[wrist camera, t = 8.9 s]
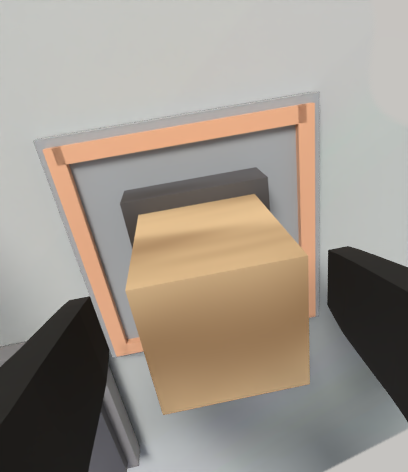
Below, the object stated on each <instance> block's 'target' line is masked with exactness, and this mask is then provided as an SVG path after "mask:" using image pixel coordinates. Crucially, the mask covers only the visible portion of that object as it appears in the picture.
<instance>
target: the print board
mask: <svg viewBox="0 0 408 472" xmlns="http://www.w3.org/2000/svg"><path fill="white" fill-rule="evenodd" d="M33 142H34V145H35V148H36V151H37V153H38V156H39V159H40V161H41V164H42V167H43V170H44V172H45V175H46V178H47V180H48V183H49V186H50V189H51V191H52V194H53V197H54V200H55V202H56V205H57V208H58V210H59V213H60V216H61V219H62V221H63V224H64V227H65V229H66V232H67V235H68V238H69V240H70V243H71V246H72V249H73V251H74V254H75V257H76V259H77V262H78V265H79V268H80V270H81V273H82V276H83V278H84V281H85V284H86V287H87V289H88V292H89V295H90V298H91V300H92V303H93V306H94V308H95V311H96V314H97V317H98V319H99V322H100V325H101V327H102V330H103V333H104V336H105V338H106V341H107V344H108V347H109V349H110V352H111V355H112V357H113V358H115V357H120V356H125V355H130V354H135V353H139V352H144V351H143V348H142V344H141V341H140V338H139V334H138V331H137V328H136V325H135V321H134V318H133V315H132V312H131V308H130V305H129V302H128V298H127V295H126V292H125V289H126V283H127V277H128V272H129V266H130V260H131V255H132V246H131V243H130V239H129V235H128V232H127V228H126V224H125V221H124V217H123V214H122V210H121V206H120V202H121V199H122V196H123V193H124V191H125V190H131V189H136V188H142V187H148V186H153V185H159V184H164V183H170V182H176V181H181V180H187V179H192V178H198V177H204V176H209V175H215V174H220V173H226V172H232V171H237V170H243V169H248V168H254V167H257V168H258V169H259V170H260V171H261V172H262V173H264V174H265V175H266V176H267V177H268V187H269V202H270V212H271V213H272V215H273V216H274V217H275V218H276V219H277V220H278V221H279V223H280V224H281V225H282V226H283V227H284V228H285V230H286V231H287V232H288V233H289V234H290V235H291V236H292V238H293V239H294V240H295V241H296V242H297V243H298V244H299V246H300V247H301V248H302V249H303V250H304V251H305V253H306V254H307V255H308V286H309V318H312V317H317V316H319V92H309V93H303V94H297V95H291V96H285V97H280V98H274V99H268V100H262V101H256V102H250V103H245V104H239V105H233V106H227V107H221V108H215V109H210V110H204V111H198V112H192V113H186V114H180V115H175V116H169V117H163V118H157V119H151V120H146V121H140V122H134V123H128V124H122V125H116V126H111V127H105V128H99V129H93V130H87V131H81V132H76V133H70V134H64V135H58V136H52V137H46V138H41V139H37V140H34V141H33Z"/></svg>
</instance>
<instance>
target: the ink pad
mask: <svg viewBox="0 0 408 472" xmlns="http://www.w3.org/2000/svg"><path fill="white" fill-rule="evenodd" d="M25 343H26V342H23V343H18V344H13V345H8V346H3V347H0V367H1V366H2V365H3V364H4V363H5V362H6V361H7V360H8V359H9V358H10V357H11V356H13V355H14V354H15V353H16V352H17V351H18V350H19V349H20V348H21V347H22V346H23V345H24V344H25ZM139 457H140V446H139V444H138V441H137V438H136V436H135V433H134V431H133V428H132V425H131V423H130V420H129V417H128V415H127V412H126V410H125V407H124V404H123V402H122V399H121V396H120V394H119V391H118V388H117V386H116V383H115V381H114V378H113V375H112V373H111V370H110V367H109V365H108V374H107V383H106V388H105V393H104V398H103V403H102V408H101V413H100V417H99V422H98V427H97V432H96V436H95V441H94V446H93V451H92V455H91V460H90V465H89V471H88V472H127V468H132V467H136V466H139Z"/></svg>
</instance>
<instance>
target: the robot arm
mask: <svg viewBox="0 0 408 472" xmlns="http://www.w3.org/2000/svg"><path fill="white" fill-rule="evenodd" d="M327 305H328V307H329V309H330V310H331V312H332V314H333V316H334V318H335V320H336V322H337V323H338V325H339V327H340V328H341V330H342V332H343V333H344V335H345V336H346V338H347V339H348V340H349V342H350V343H351V344H352V346H353V347H354V349H355V350H356V351H357V353H358V354H359V355H360V357H361V358H362V359H363V361H364V362H365V363H366V365H367V366H368V367H369V369H370V370H371V371H372V373H373V374H374V375H375V376H376V378H377V379H378V380H379V382H380V383H381V384H382V386H383V387H384V388H385V390H386V391H387V392H388V394H389V395H390V396H391V398H392V399H393V401H394V402H395V403H396V405H397V406H398V408H399V409H400V411H401V412H402V414H403V415H404V417H405V418H406V420H407V422H408V267H405V266H403V265H400V264H397V263H395V262H392V261H389V260H387V259H384V258H381V257H379V256H376V255H373V254H370V253H368V252H365V251H362V250H359V249H356V248H352V247H349V246H347V247H342V248H337V249H332V250H328V303H327ZM108 361H109V347H108V344H107V341H106V339H105V336H104V333H103V331H102V328H101V325H100V322H99V320H98V317H97V314H96V312H95V309H94V306H93V303H92V301H91V298H90V296H89V297H84V298H79V299H74V300H69V301H68V302H67V303H66V304H64V305H63V306H62V307H61V308H60V309H59V310H58V311H57V312H56V313H55V314H54V315H53V316H52V317H51V318H50V319H49V320H48V321H47V322H46V323H45V324H44V325H43V326H42V327H41V328H40V329H39V330H38V331H37V332H36V333H35V334H34V335H33V336H32V337H31V338H30V339H29V340H28V341H27V342H26V343H25V344H24V345H23V346H22V347H21V348H20V349H19V350H18V351H17V352H16V353H15V354H14V355H13V356H11V357H10V358H9V359H8V360H7V361H6V362H5V363H4V364H3V365H2V366H1V367H0V472H88V471H89V465H90V460H91V455H92V451H93V446H94V441H95V436H96V432H97V427H98V422H99V417H100V413H101V408H102V403H103V398H104V393H105V388H106V383H107V374H108Z"/></svg>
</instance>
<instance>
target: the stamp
mask: <svg viewBox="0 0 408 472" xmlns="http://www.w3.org/2000/svg"><path fill="white" fill-rule="evenodd" d="M120 206H121V210H122V214H123V217H124V221H125V224H126V228H127V232H128V235H129V239H130V243H131V246H132V255H131V260H130V266H129V272H128V277H127V283H126V289H125V292H126V295H127V298H128V302H129V305H130V308H131V312H132V315H133V318H134V321H135V325H136V328H137V331H138V334H139V338H140V341H141V344H142V348H143V351H144V354H145V357H146V361H147V364H148V367H149V370H150V374H151V377H152V380H153V384H154V387H155V390H156V393H157V397H158V400H159V403H160V406H161V410H162V413H163V415H165V414H170V413H175V412H180V411H184V410H189V409H194V408H199V407H203V406H208V405H213V404H218V403H222V402H227V401H232V400H237V399H241V398H246V397H251V396H256V395H260V394H265V393H270V392H275V391H279V390H284V389H289V388H294V387H298V386H303V385H308V384H310V368H309V286H308V255H307V254H306V253H305V251H304V250H303V249H302V248H301V247H300V246H299V244H298V243H297V242H296V241H295V240H294V239H293V238H292V236H291V235H290V234H289V233H288V232H287V231H286V230H285V228H284V227H283V226H282V225H281V224H280V223H279V221H278V220H277V219H276V218H275V217H274V216H273V215H272V213H271V212H270V202H269V187H268V177H267V176H266V175H265V174H264V173H262V172H261V171H260V170H259V169H258V168H257V167H254V168H248V169H243V170H237V171H232V172H226V173H220V174H215V175H209V176H204V177H198V178H192V179H187V180H181V181H176V182H170V183H164V184H159V185H153V186H148V187H142V188H136V189H131V190H125V191H124V193H123V196H122V199H121V202H120Z"/></svg>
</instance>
